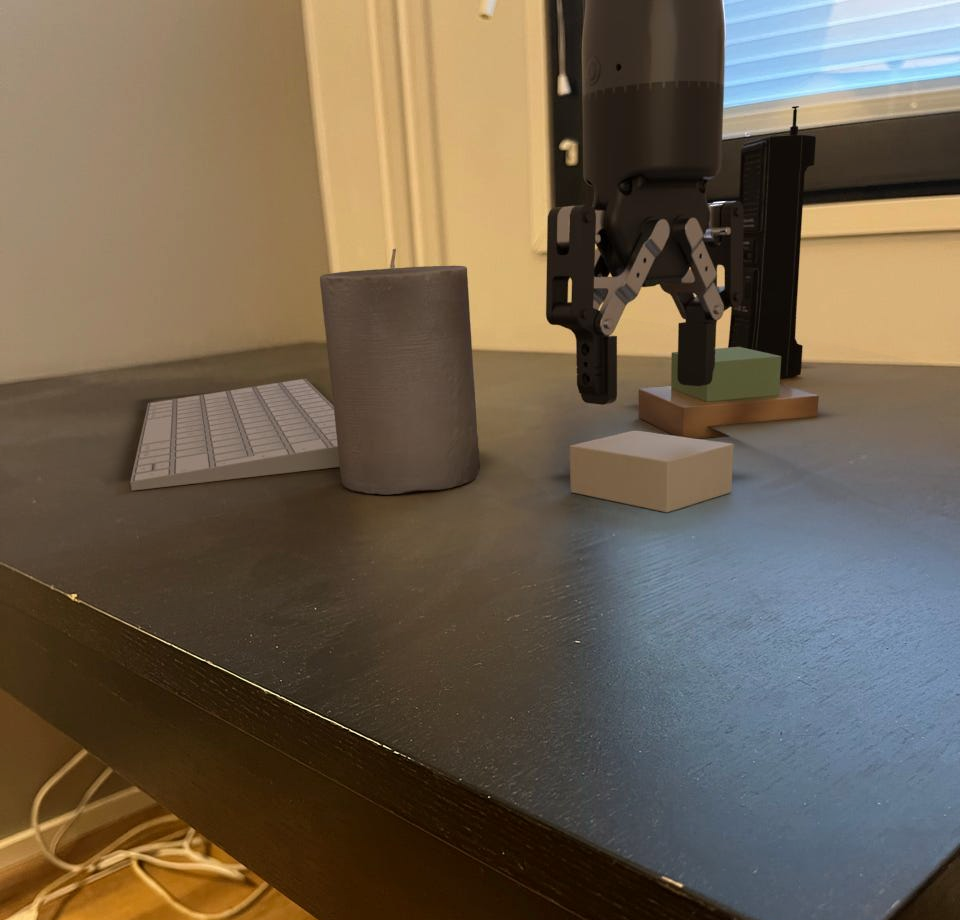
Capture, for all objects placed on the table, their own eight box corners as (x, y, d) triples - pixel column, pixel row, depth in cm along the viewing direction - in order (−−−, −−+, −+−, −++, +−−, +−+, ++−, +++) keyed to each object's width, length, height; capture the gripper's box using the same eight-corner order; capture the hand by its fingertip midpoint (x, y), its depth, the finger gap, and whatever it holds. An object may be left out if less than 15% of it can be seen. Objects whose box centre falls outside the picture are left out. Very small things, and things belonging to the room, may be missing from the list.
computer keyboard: (149, 408, 109) (146, 392, 108) (317, 392, 113) (315, 377, 112) (114, 492, 70) (110, 469, 70) (372, 464, 74) (370, 442, 74)
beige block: (634, 474, 66) (634, 430, 65) (732, 492, 60) (733, 443, 59) (570, 492, 63) (568, 445, 61) (667, 513, 57) (667, 461, 56)
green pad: (737, 382, 84) (739, 346, 83) (779, 395, 77) (781, 356, 76) (670, 388, 84) (671, 352, 82) (706, 402, 76) (707, 362, 75)
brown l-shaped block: (757, 406, 87) (759, 378, 86) (817, 427, 77) (819, 395, 76) (638, 417, 86) (638, 388, 85) (682, 440, 76) (683, 407, 75)
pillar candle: (401, 459, 75) (383, 248, 69) (507, 470, 70) (496, 242, 64) (311, 488, 68) (282, 255, 62) (421, 502, 62) (400, 248, 57)
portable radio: (720, 372, 109) (728, 118, 99) (773, 368, 109) (786, 114, 100) (745, 381, 101) (757, 108, 92) (802, 377, 102) (819, 104, 92)
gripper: (611, 66, 46) (612, 416, 52) (790, 82, 54) (773, 383, 60) (506, 90, 51) (518, 405, 57) (683, 101, 60) (677, 375, 66)
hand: (648, 393), depth 59 cm, fingers open, 8 cm apart
